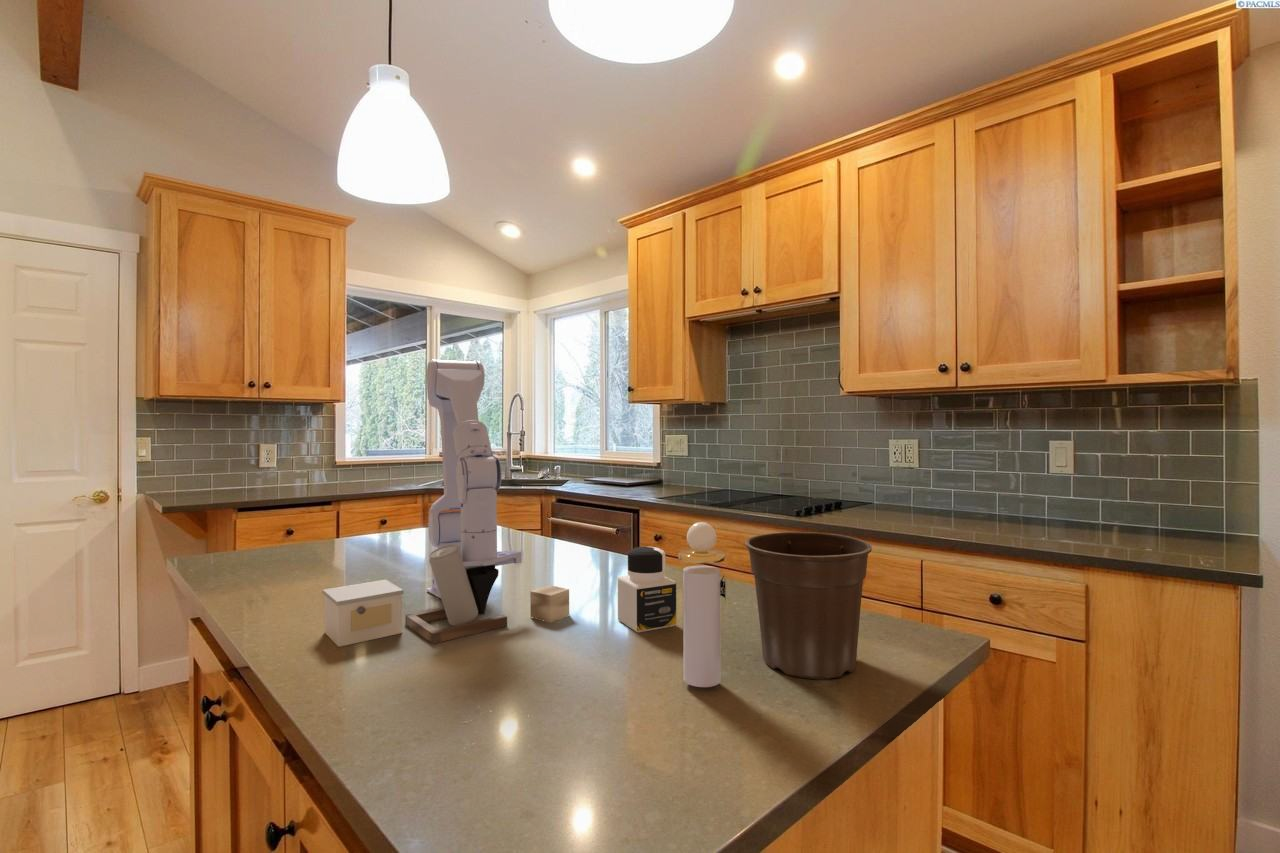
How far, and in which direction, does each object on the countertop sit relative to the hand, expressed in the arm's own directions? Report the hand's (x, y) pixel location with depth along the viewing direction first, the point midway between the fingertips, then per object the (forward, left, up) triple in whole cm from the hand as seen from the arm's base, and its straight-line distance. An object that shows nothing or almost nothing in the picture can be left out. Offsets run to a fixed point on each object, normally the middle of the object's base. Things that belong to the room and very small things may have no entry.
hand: (479, 613), depth 100 cm
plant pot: (+45, +26, -1) cm, 52 cm away
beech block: (+6, +10, -1) cm, 11 cm away
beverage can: (0, -3, -1) cm, 3 cm away
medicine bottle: (+19, +20, -1) cm, 27 cm away
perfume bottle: (+41, +10, -1) cm, 42 cm away
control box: (-6, -16, -1) cm, 17 cm away
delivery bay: (0, -4, -1) cm, 4 cm away
